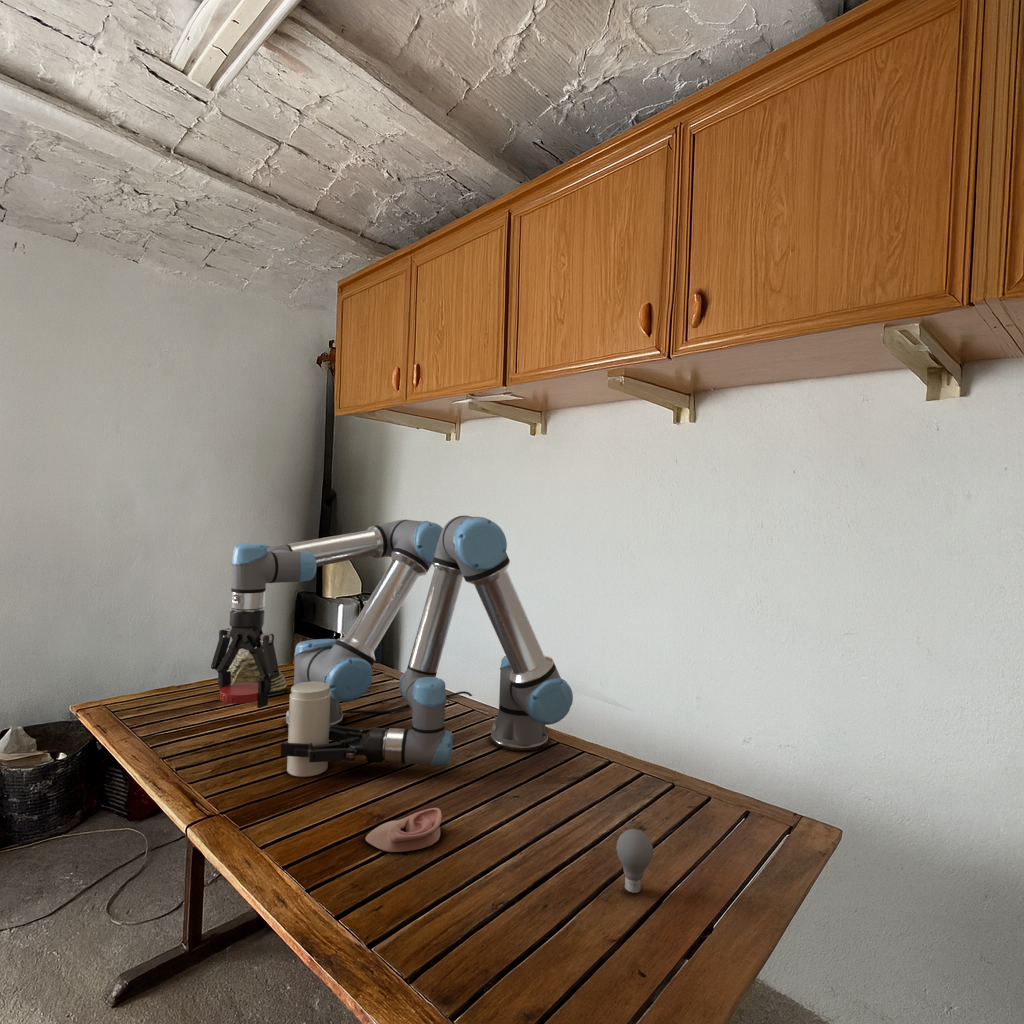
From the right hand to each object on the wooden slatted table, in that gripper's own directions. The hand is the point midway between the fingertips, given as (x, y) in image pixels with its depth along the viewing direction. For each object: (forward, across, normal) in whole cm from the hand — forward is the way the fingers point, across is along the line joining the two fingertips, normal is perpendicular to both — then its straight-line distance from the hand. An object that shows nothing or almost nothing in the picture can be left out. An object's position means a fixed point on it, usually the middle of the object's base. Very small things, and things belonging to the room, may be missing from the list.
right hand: (289, 740), depth 147 cm
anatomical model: (-32, -28, -6) cm, 43 cm away
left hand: (+12, +2, +8) cm, 14 cm away
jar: (-4, 0, -6) cm, 8 cm away
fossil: (+29, +50, -6) cm, 59 cm away
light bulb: (-73, -41, -6) cm, 84 cm away
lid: (+12, +2, +11) cm, 16 cm away
